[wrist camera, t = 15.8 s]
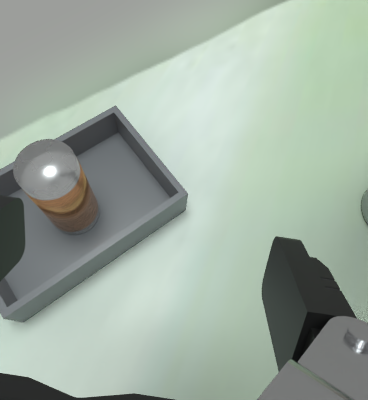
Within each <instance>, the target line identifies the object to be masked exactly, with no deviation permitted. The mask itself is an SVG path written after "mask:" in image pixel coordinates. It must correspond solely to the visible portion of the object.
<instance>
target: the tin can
mask: <svg viewBox="0 0 368 400" xmlns="http://www.w3.org/2000/svg"><path fill="white" fill-rule="evenodd" d="M13 174H14V178H15V180H16V182H17V183H18V185H19V186H20V187H21V188H22V190H23V191H24V192H25V193H26V194H27V195H28V197H29V198H30V199H31V200H32V201H33V202H34V203H35V204H36V205H37V206H38V208H39V209H40V210H41V211H42V212H43V213H44V214H45V215H46V216H47V217H48V219H49V220H50V221H51V222H52V223H53V224H54V225H55V226H56V227H57V228H58V229H59V230H60V231H62V232H64V233H66V234H69V235H79V234H83V233H85V232H87V231H89V230H90V229H91V228H93V227H94V225H95V224H96V223H97V221H98V218H99V214H100V209H99V205H98V202H97V199H96V197H95V195H94V193H93V191H92V189H91V186H90V184H89V182H88V180H87V178H86V176H85V174H84V171H83V169H82V167H81V165H80V163H79V161H78V159H77V157H76V155H75V153H74V152H73V150H72V149H71V148H70V147H69V146H68V145H67V144H65V143H63V142H61V141H58V140H52V139H45V140H40V141H36V142H34V143H32V144H30V145H28V146H27V147H25V148H24V149H23V150H22V151H21V152H20V153H19V154H18V156H17V158H16V160H15V162H14V166H13Z"/></svg>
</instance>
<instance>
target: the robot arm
mask: <svg viewBox="0 0 368 400" xmlns="http://www.w3.org/2000/svg"><path fill="white" fill-rule="evenodd" d="M361 208H362V213H363V216H364V218H365V221H366V222H367V224H368V189H367V190H366V192H365V193H364V195H363V198H362V205H361ZM24 250H25V220H24V204H23V201H22V200H21V199H20V198H16V197H10V196H3V195H0V282H1V280H2V279H3V278H4V277H5V276H6V275H7V274H8V273H9V272H10V271H11V270H12V269H13V268H14V267H15V265H16V264H17V263H18V262H19V261H20V260H21V258H22V256H23V253H24ZM262 300H263V304H264V308H265V313H266V317H267V322H268V326H269V330H270V335H271V339H272V344H273V348H274V353H275V357H276V361H277V366H278V370H279V373H278V374H277V375H276V377H275V378H274V379H273V380H272V382H271V383H270V384H269V385H268V387H267V388H266V389H265V390H264V392H263V393H262V394H261V395H260V397H259V398H258V399H257V400H368V323H366V322H364V321H362V320H359V319H357V318H356V316H355V314H354V312H353V311H352V309H351V307H350V306H349V304H348V302H347V300H346V299H345V297H344V295H343V293H342V292H341V291H340V288H339V286H338V285H337V283H336V282H335V281H334V278H333V276H332V274H331V272H330V271H329V269H328V268H327V267H326V266H325V265H324V264H323V263H321V262H320V261H319V260H318V259H317V258H313V257H309V255H308V253H307V251H306V249H305V247H304V245H303V243H302V241H301V240H297V239H290V238H283V237H275V238H274V240H273V243H272V247H271V251H270V254H269V258H268V262H267V266H266V270H265V274H264V278H263V283H262ZM0 400H173V399H167V398H160V397H154V396H147V395H141V394H123V395H111V396H99V397H87V398H76V397H73V396H70V395H68V394H65V393H63V392H61V391H59V390H56V389H54V388H52V387H49V386H47V385H45V384H43V383H40V382H38V381H36V380H33V379H31V378H29V377H23V376H16V375H10V374H3V373H0Z"/></svg>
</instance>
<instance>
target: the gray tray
mask: <svg viewBox="0 0 368 400" xmlns="http://www.w3.org/2000/svg"><path fill="white" fill-rule="evenodd" d="M54 140H58V141H61V142H63V143H65V144H67V145H68V146H69V147H70V148H71V149H72V150H73V152H74V153H75V155H76V157H77V159H78V161H79V163H80V165H81V167H82V169H83V171H84V174H85V176H86V178H87V180H88V182H89V184H90V186H91V189H92V191H93V193H94V195H95V197H96V199H97V202H98V205H99V209H100V214H99V218H98V221H97V223H96V224H95V225H94V227H93V228H91V229H90V230H89V231H87V232H85V233H83V234H79V235H69V234H66V233H64V232H62V231H60V230H59V229H58V228H57V227H56V226H55V225H54V224H53V223H52V222H51V221H50V220H49V219H48V217H47V216H46V215H45V214H44V213H43V212H42V211H41V210H40V209H39V208H38V206H37V205H36V204H35V203H34V202H33V201H32V200H31V199H30V198H29V197H28V195H27V194H26V193H25V192H24V191H23V190H22V188H21V187H20V186H19V185H18V183H17V182H16V180H15V178H14V174H13V166H14V162H15V161H14V162H13V163H11V164H9V165H7V166H5V167H4V168H2V169H0V195H3V196H10V197H16V198H20V199H21V200H22V201H23V204H24V220H25V250H24V253H23V256H22V258H21V260H20V261H19V262H18V263H17V264H16V265H15V267H14V268H13V269H12V270H11V271H10V272H9V273H8V274H7V275H6V276H5V277H4V278H3V279H2V280H1V282H0V313H1V315H2V317H3V319H8V320H14V321H19V322H24V321H26V320H27V319H29V318H30V317H32V316H33V315H35V314H36V313H37V312H39V311H40V310H42V309H43V308H45V307H46V306H48V305H49V304H50V303H52V302H53V301H55V300H56V299H58V298H59V297H61V296H62V295H63V294H65V293H66V292H68V291H69V290H71V289H72V288H74V287H75V286H76V285H78V284H79V283H81V282H82V281H84V280H85V279H87V278H88V277H89V276H91V275H92V274H94V273H95V272H97V271H98V270H100V269H101V268H102V267H104V266H105V265H107V264H108V263H110V262H111V261H113V260H114V259H115V258H117V257H118V256H120V255H121V254H123V253H124V252H126V251H127V250H128V249H130V248H131V247H133V246H134V245H136V244H137V243H139V242H140V241H141V240H143V239H144V238H146V237H147V236H149V235H150V234H152V233H153V232H154V231H156V230H157V229H159V228H160V227H162V226H163V225H165V224H166V223H167V222H169V221H170V220H172V219H173V218H175V217H176V216H178V215H179V214H180V213H182V212H183V211H185V210H186V204H187V197H188V193H187V192H186V191H185V189H184V188H183V187H182V186H181V185H180V183H179V182H178V181H177V180H176V178H175V177H174V176H173V175H172V174H171V172H170V171H169V170H168V169H167V167H166V166H165V165H164V164H163V163H162V161H161V160H160V159H159V158H158V156H157V155H156V154H155V153H154V152H153V150H152V149H151V148H150V147H149V145H148V144H147V143H146V142H145V141H144V139H143V138H142V137H141V136H140V134H139V133H138V132H137V131H136V130H135V128H134V127H133V126H132V125H131V124H130V122H129V121H128V120H127V119H126V117H125V116H124V115H123V114H122V113H121V111H120V110H119V109H118V108H117V106H114V107H112V108H110V109H108V110H107V111H105V112H103V113H101V114H99V115H98V116H96V117H94V118H92V119H90V120H89V121H87V122H85V123H83V124H81V125H80V126H78V127H76V128H74V129H72V130H70V131H69V132H67V133H65V134H63V135H61V136H60V137H58V138H56V139H54Z"/></svg>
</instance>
